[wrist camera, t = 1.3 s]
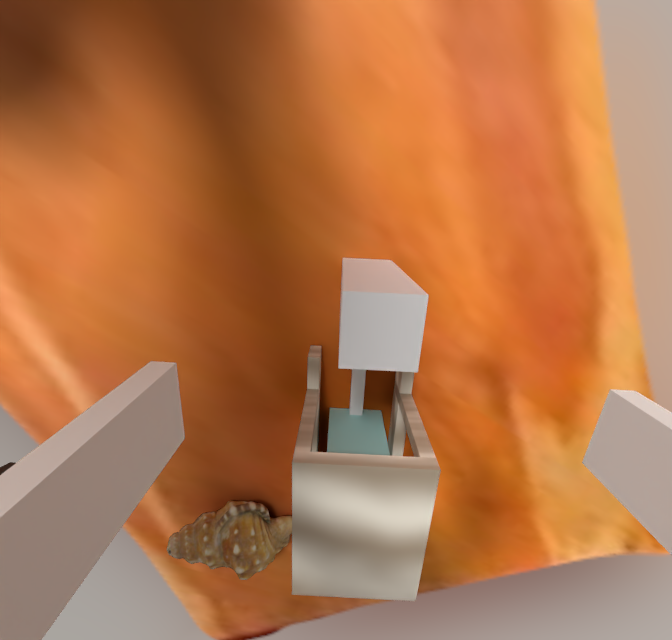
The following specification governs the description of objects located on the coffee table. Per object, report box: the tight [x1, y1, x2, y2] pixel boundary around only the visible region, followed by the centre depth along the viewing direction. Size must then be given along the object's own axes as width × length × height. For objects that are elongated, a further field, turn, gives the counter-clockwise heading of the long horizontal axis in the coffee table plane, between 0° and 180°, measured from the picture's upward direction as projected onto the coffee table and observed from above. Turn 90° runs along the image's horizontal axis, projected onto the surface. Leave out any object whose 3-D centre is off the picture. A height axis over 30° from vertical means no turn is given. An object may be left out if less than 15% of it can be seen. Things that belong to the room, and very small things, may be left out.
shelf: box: [292, 345, 441, 601], centre depth 26 cm, size 15×9×11 cm, turn 177°
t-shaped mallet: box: [327, 258, 429, 456], centre depth 23 cm, size 20×5×12 cm, turn 177°
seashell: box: [167, 500, 292, 580], centre depth 33 cm, size 9×8×10 cm
